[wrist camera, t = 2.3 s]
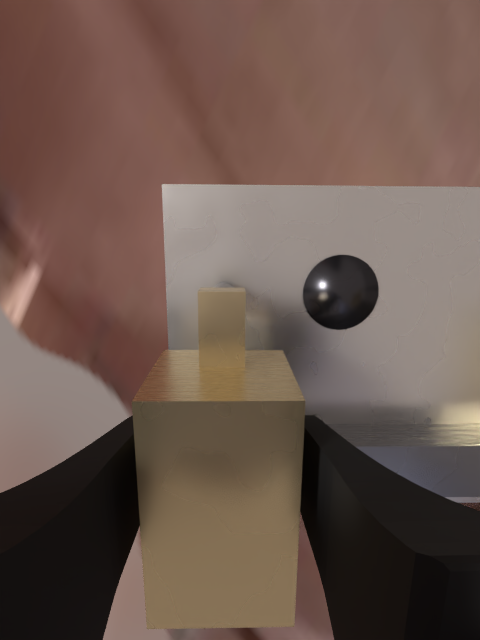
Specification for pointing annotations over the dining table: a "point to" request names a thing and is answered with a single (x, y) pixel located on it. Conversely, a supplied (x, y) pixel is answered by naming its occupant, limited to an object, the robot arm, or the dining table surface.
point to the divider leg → (219, 477)
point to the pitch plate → (350, 308)
